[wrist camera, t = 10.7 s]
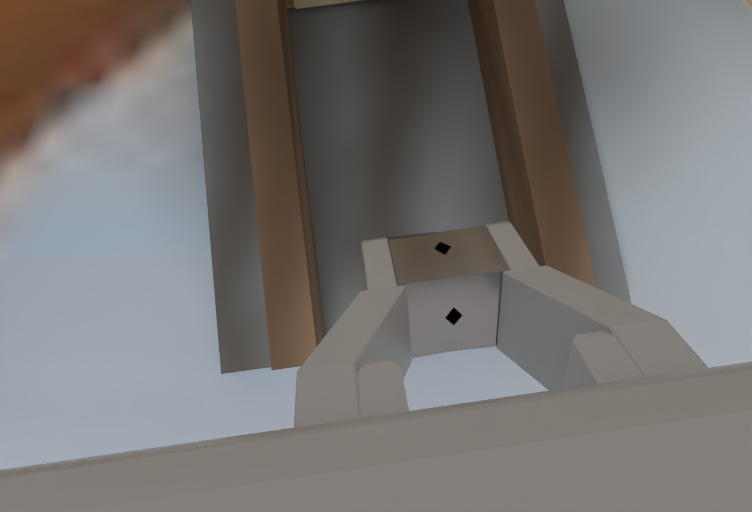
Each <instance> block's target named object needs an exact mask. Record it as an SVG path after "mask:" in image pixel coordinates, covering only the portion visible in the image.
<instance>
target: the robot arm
mask: <svg viewBox="0 0 752 512" xmlns="http://www.w3.org/2000/svg"><path fill="white" fill-rule="evenodd" d="M362 251H363V259H364V266H365V274H366V281H367V289H368V290H364V291H360V293H359V294H358V295H357V296H356V298H355V299H354V300H353V301H352V303H351V304H350V305H349V306H348V308H347V309H346V310H345V311H344V313H343V314H342V315H341V317H340V318H339V319H338V320H337V322H336V323H335V324H334V325H333V327H332V328H331V329H330V330H329V332H328V333H327V334H326V336H325V337H324V338H323V339H322V341H321V342H320V343H319V344H318V346H317V347H316V348H315V349H314V351H313V352H312V353H311V355H310V356H309V357H308V358H307V360H306V361H305V362H304V363H303V365H302V366H301V367H300V368H299V370H298V371H297V381H296V399H295V418H294V428H289V429H282V430H275V431H268V432H261V433H255V434H248V435H241V436H234V437H227V438H220V439H213V440H206V441H199V442H192V443H185V444H178V445H171V446H165V447H158V448H151V449H144V450H137V451H130V452H123V453H116V454H109V455H102V456H95V457H88V458H81V459H74V460H67V461H60V462H53V463H46V464H39V465H33V466H26V467H19V468H12V469H5V470H0V512H752V362H747V363H740V364H733V365H726V366H719V367H712V368H708V367H707V366H706V364H705V363H704V362H703V361H702V360H701V359H700V358H699V356H698V355H697V354H696V353H695V352H694V351H693V350H692V348H691V347H690V346H689V345H688V344H687V343H686V342H685V340H684V339H683V338H682V337H681V336H680V335H679V334H678V332H677V331H676V330H675V329H674V328H673V327H672V326H671V324H670V323H669V322H668V321H667V320H665V319H663V318H661V317H659V316H656V315H654V314H652V313H650V312H648V311H645V310H643V309H641V308H639V307H637V306H635V305H632V304H630V303H628V302H626V301H624V300H621V299H619V298H617V297H615V296H613V295H610V294H608V293H606V292H604V291H602V290H599V289H597V288H595V287H593V286H591V285H589V284H586V283H584V282H582V281H580V280H578V279H575V278H573V277H571V276H569V275H567V274H564V273H562V272H560V271H558V270H556V269H553V268H551V267H549V266H539V265H538V263H537V262H536V260H535V259H534V257H533V256H532V254H531V253H530V251H529V250H528V248H527V247H526V245H525V244H524V242H523V241H522V239H521V237H520V236H519V234H518V233H517V231H516V230H515V228H514V227H513V225H512V224H511V223H510V222H508V221H504V222H498V223H492V224H486V225H482V226H476V227H469V228H463V229H456V230H450V231H443V232H437V233H436V232H431V233H422V234H414V235H405V236H396V237H387V239H386V238H378V239H371V240H364V241H362ZM492 346H497V348H498V349H499V350H500V351H501V352H503V353H504V354H505V355H506V356H507V357H509V358H510V359H511V360H512V361H514V362H515V363H516V364H517V365H518V366H520V367H521V368H522V369H523V370H525V371H526V372H527V373H528V374H530V375H531V376H532V377H533V378H534V379H536V380H537V381H538V382H539V383H541V384H542V385H543V386H544V387H546V388H547V389H548V390H549V391H545V392H538V393H531V394H524V395H517V396H510V397H503V398H496V399H489V400H483V401H476V402H469V403H462V404H455V405H448V406H441V407H434V408H428V409H421V410H414V411H409V409H408V404H407V399H406V394H405V389H404V384H403V379H404V377H405V374H406V372H407V370H408V368H409V366H410V364H411V361H412V358H414V357H420V356H426V355H432V354H438V353H444V352H450V351H457V350H466V349H474V348H483V347H492Z"/></svg>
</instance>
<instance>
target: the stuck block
mask: <svg viewBox="0 0 752 512" xmlns="http://www.w3.org/2000/svg"><path fill="white" fill-rule="evenodd" d="M293 1H294V5H295V9H301V8H308V7H316V6H324V5H332V4H340V3H348V2H355V1H363V0H293Z"/></svg>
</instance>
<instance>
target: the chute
mask: <svg viewBox="0 0 752 512" xmlns="http://www.w3.org/2000/svg"><path fill="white" fill-rule="evenodd" d="M191 8H192V21H193V33H194V45H195V57H196V70H197V82H198V94H199V106H200V119H201V131H202V143H203V156H204V168H205V180H206V192H207V205H208V217H209V229H210V241H211V254H212V266H213V278H214V290H215V303H216V315H217V327H218V340H219V352H220V364H221V374H223V373H231V372H238V371H245V370H252V369H259V368H266V367H271V369H272V370H276V369H283V368H290V367H297V366H302V365H303V363H304V362H305V361H306V360H307V358H308V357H309V356H310V355H311V353H312V352H313V351H314V349H315V348H316V347H317V346H318V344H319V343H320V342H321V341H322V339H323V338H324V337H325V336H326V334H327V333H328V332H329V330H330V329H331V328H332V327H333V325H334V324H335V323H336V322H337V320H338V319H339V318H340V317H341V315H342V314H343V313H344V311H345V310H346V309H347V308H348V306H349V305H350V304H351V303H352V301H353V300H354V299H355V298H356V296H357V295H358V294H359V293H360V291H364V290H368V289H367V281H366V274H365V266H364V259H363V251H362V241H364V240H371V239H378V238H386V239H387V237H396V236H405V235H414V234H422V233H431V232H436V233H437V232H443V231H450V230H456V229H463V228H469V227H476V226H482V225H486V224H492V223H498V222H504V221H508V222H510V223H511V224H512V225H513V227H514V228H515V230H516V231H517V233H518V234H519V236H520V237H521V239H522V241H523V242H524V244H525V245H526V247H527V248H528V250H529V251H530V253H531V254H532V256H533V257H534V259H535V260H536V262H537V263H538V265H539V266H549V267H551V268H553V269H556V270H558V271H560V272H562V273H564V274H567V275H569V276H571V277H573V278H575V279H578V280H580V281H582V282H584V283H586V284H589V285H591V286H593V287H595V288H597V289H599V290H602V291H604V292H606V293H608V294H610V295H613V296H615V297H617V298H619V299H621V300H624V301H626V302H628V303H630V304H631V300H630V296H629V291H628V287H627V282H626V278H625V273H624V269H623V264H622V260H621V255H620V251H619V247H618V242H617V238H616V233H615V229H614V224H613V220H612V215H611V211H610V206H609V202H608V197H607V193H606V189H605V184H604V180H603V175H602V171H601V166H600V162H599V157H598V153H597V148H596V144H595V139H594V135H593V130H592V126H591V122H590V117H589V113H588V108H587V104H586V99H585V95H584V90H583V86H582V81H581V77H580V72H579V68H578V64H577V59H576V55H575V50H574V46H573V41H572V37H571V32H570V28H569V23H568V19H567V14H566V10H565V6H564V1H563V0H363V1H355V2H348V3H340V4H332V5H324V6H316V7H308V8H301V9H295V5H294V1H293V0H191Z"/></svg>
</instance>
